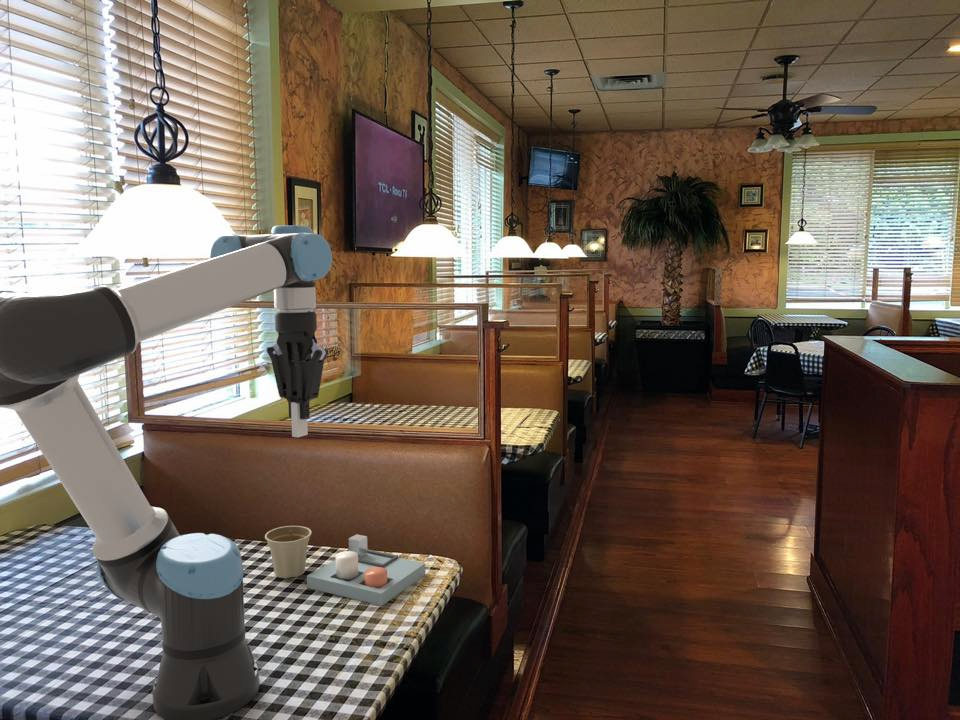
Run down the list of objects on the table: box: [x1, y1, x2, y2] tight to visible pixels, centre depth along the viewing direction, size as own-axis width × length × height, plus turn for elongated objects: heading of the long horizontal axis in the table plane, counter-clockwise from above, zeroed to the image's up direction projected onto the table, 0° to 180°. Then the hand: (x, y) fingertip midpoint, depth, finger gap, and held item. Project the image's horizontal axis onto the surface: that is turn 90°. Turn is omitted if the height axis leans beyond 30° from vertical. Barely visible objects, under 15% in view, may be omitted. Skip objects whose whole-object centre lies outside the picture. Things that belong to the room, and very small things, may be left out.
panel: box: [306, 548, 426, 607], centre depth 152 cm, size 16×18×3 cm
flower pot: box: [264, 525, 312, 580], centre depth 156 cm, size 9×9×9 cm
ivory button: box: [335, 550, 358, 579], centre depth 149 cm, size 4×4×4 cm
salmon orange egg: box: [365, 567, 387, 589], centre depth 146 cm, size 4×4×4 cm
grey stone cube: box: [348, 533, 368, 559], centre depth 159 cm, size 3×3×4 cm
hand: (300, 435), depth 140 cm, fingers closed
